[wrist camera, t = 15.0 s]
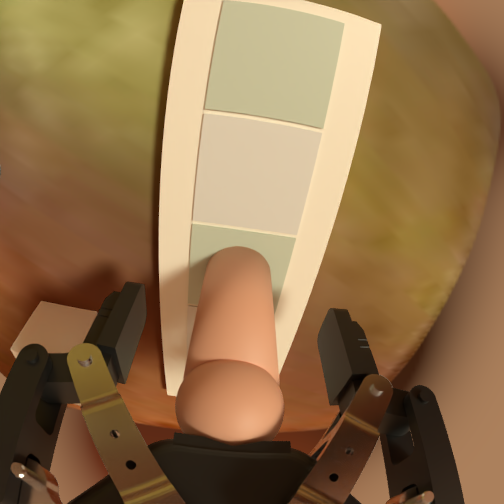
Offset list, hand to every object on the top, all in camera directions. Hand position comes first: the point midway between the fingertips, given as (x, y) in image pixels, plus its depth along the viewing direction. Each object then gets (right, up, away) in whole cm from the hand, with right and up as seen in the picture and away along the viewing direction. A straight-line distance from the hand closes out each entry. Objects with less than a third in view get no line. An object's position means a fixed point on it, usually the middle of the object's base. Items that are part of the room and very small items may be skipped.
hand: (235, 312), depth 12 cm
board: (0, +2, +3) cm, 4 cm away
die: (-12, -3, +6) cm, 14 cm away
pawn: (0, +1, +2) cm, 3 cm away
